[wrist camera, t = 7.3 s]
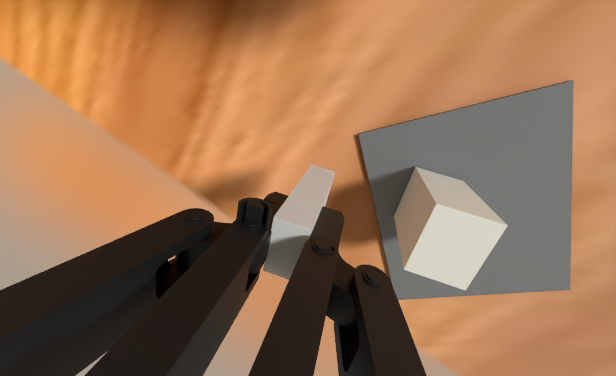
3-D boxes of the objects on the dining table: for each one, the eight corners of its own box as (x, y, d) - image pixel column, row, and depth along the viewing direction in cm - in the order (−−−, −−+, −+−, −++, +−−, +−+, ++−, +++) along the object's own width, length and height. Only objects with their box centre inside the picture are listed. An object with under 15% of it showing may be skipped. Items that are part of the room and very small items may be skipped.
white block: (393, 215, 24) (403, 269, 17) (414, 166, 22) (436, 203, 15) (436, 228, 24) (465, 290, 17) (462, 179, 22) (507, 225, 15)
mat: (358, 133, 23) (358, 134, 23) (569, 80, 18) (573, 80, 18) (395, 297, 28) (395, 299, 28) (566, 286, 24) (569, 289, 23)
